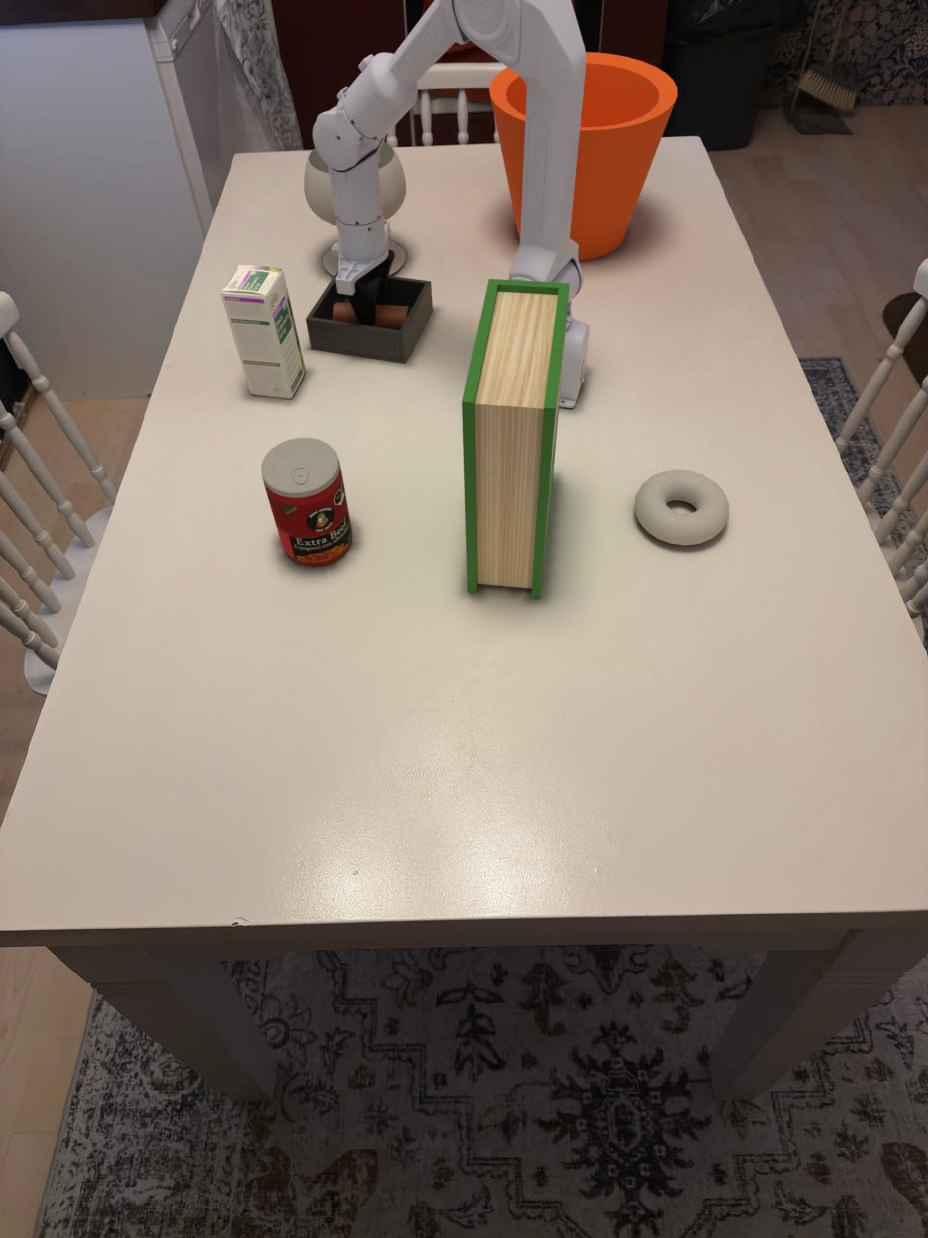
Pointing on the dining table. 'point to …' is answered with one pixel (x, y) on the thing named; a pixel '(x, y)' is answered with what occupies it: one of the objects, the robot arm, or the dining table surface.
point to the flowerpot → (595, 143)
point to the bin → (370, 338)
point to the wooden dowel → (384, 315)
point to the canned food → (308, 500)
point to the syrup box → (264, 330)
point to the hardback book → (512, 431)
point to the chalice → (323, 206)
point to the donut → (681, 525)
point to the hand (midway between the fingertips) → (371, 314)
